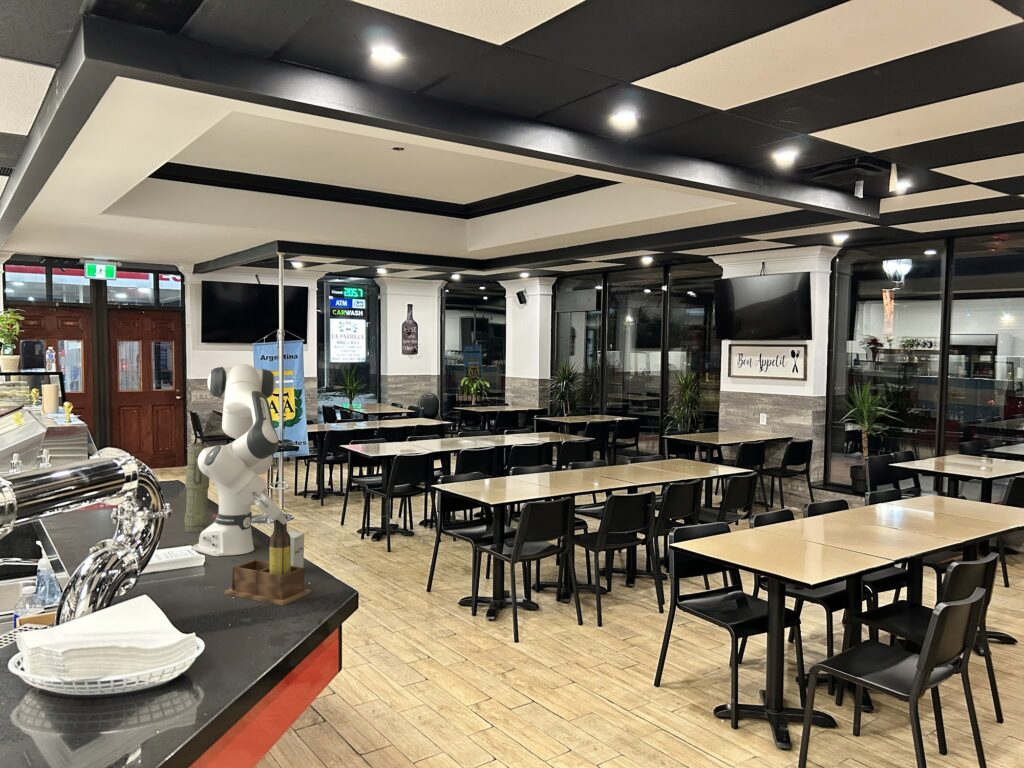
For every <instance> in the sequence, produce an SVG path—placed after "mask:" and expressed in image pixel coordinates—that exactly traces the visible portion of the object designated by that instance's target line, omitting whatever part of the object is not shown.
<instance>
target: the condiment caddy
mask: <svg viewBox="0 0 1024 768" xmlns="http://www.w3.org/2000/svg"><path fill="white" fill-rule="evenodd" d="M231 577H232V579H231V580H232V582H231V584H232V585H231V588H228V589H225V590H224V594H225V595H229V596H233V597H239V598H243V599H249V600H253V601H258V602H263V603H267V604H268V603H269V604H272V603H273V604H272V605H278V606H281V605H283V606H286V605H289V604H290V603H292V602H295V601H296V600H298V599H302V598H303V597H304V596H307V595H309V594H311V593H312V590H311V589H309V588H305V567H303V568H301V567H296V566H291V572H290V573H287V574H285V575H278V574H272V573H269V560H268V561H266V560H261V559H256V558H255V559H252V560H250V561H247V562H244V563H240V564H238V565H235V566H233V567H232V576H231ZM283 606H282V607H283Z"/></svg>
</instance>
